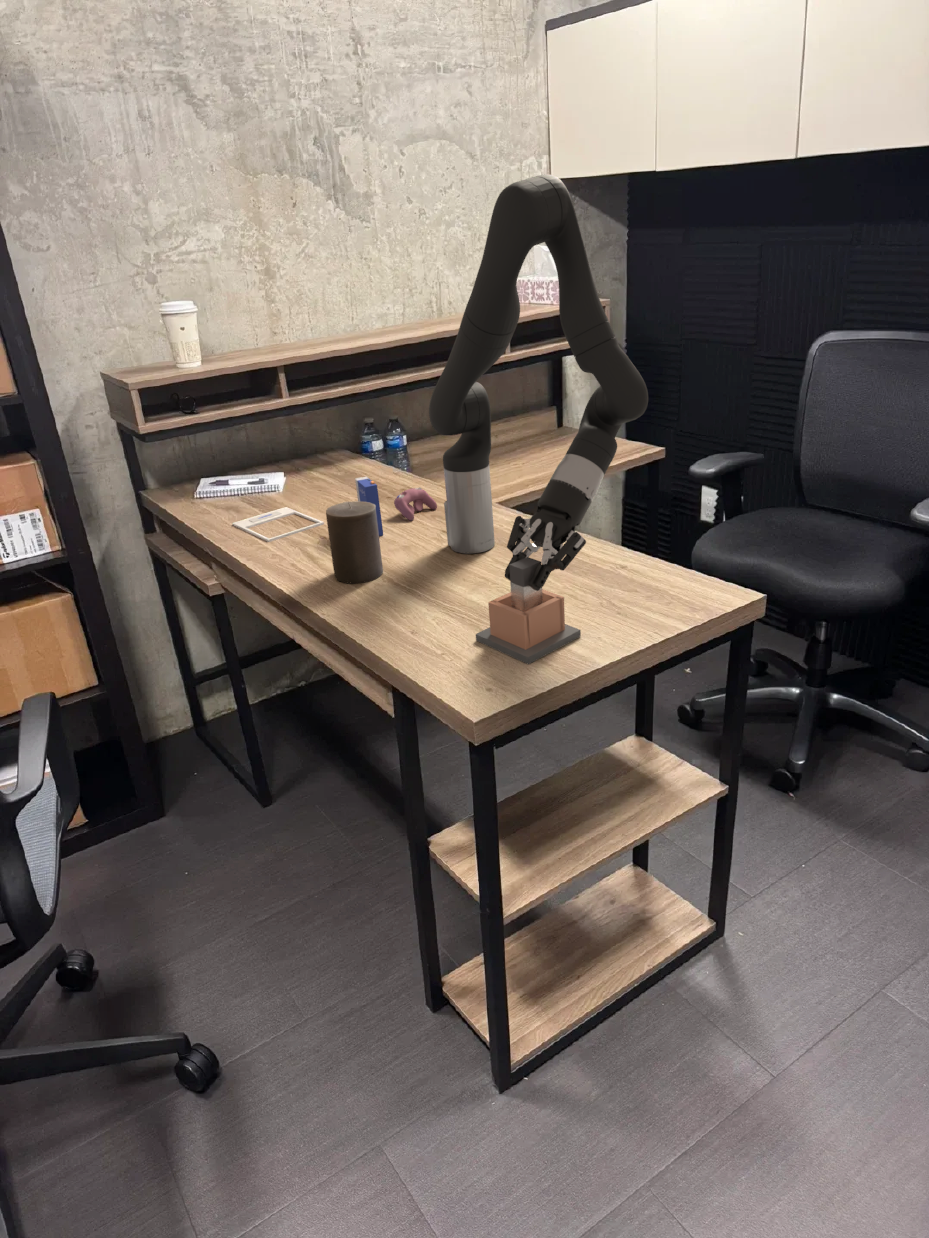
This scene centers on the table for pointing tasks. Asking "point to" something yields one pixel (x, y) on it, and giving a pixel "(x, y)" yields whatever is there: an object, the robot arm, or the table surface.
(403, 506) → the video game controller
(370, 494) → the walkman
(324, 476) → the table surface
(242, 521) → the photo frame
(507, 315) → the robot arm
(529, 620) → the box
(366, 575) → the pillar candle
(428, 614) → the table surface
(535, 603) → the grey block
